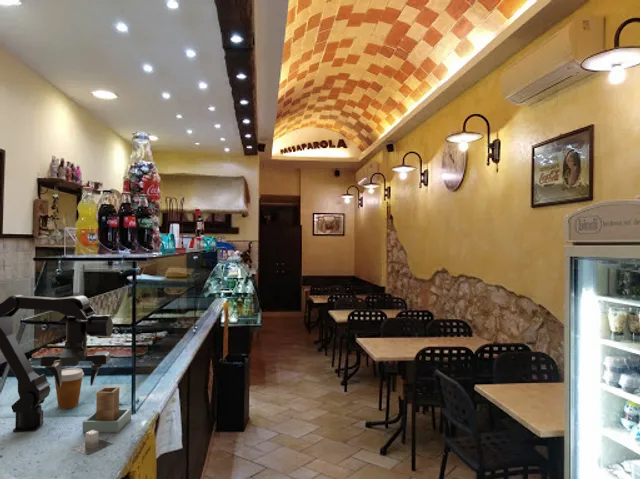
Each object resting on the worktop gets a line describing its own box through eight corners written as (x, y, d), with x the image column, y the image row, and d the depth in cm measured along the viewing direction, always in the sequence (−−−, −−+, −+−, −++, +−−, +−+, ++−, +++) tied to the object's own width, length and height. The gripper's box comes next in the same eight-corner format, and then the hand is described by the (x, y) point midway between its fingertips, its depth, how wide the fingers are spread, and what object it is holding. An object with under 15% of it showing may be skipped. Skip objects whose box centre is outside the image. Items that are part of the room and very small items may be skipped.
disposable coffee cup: (62, 412, 157) (62, 377, 157) (47, 406, 162) (47, 372, 162) (89, 404, 165) (89, 370, 165) (73, 398, 170) (74, 366, 170)
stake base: (69, 450, 130) (69, 434, 130) (94, 439, 137) (94, 424, 137) (88, 457, 127) (88, 440, 127) (113, 445, 134) (113, 429, 134)
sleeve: (96, 427, 143) (96, 392, 143) (102, 421, 148) (103, 387, 148) (112, 428, 143) (113, 392, 143) (118, 421, 148) (119, 387, 148)
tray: (82, 434, 140) (82, 421, 140) (97, 420, 151) (98, 408, 151) (118, 435, 141) (118, 422, 141) (130, 421, 151) (131, 408, 151)
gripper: (33, 343, 136) (32, 396, 136) (101, 341, 139) (101, 393, 140) (47, 335, 147) (46, 384, 147) (110, 333, 150) (109, 381, 151)
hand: (75, 386), depth 146 cm, fingers open, 9 cm apart
